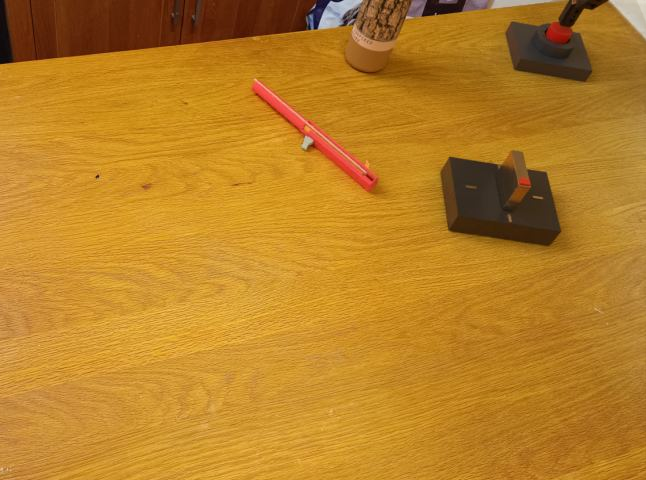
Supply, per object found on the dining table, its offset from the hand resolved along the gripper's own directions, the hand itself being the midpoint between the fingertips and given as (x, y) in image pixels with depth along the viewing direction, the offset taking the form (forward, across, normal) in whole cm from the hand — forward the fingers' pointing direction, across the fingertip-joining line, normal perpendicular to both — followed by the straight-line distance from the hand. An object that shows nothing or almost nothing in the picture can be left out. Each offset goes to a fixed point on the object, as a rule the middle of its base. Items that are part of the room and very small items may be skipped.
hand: (564, 23), depth 117 cm
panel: (+6, -37, +14) cm, 40 cm away
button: (+3, 0, 0) cm, 3 cm away
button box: (+6, 0, 0) cm, 6 cm away
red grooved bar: (+6, -29, +40) cm, 50 cm away
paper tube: (+6, -9, +31) cm, 33 cm away
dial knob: (+3, -37, +14) cm, 40 cm away
